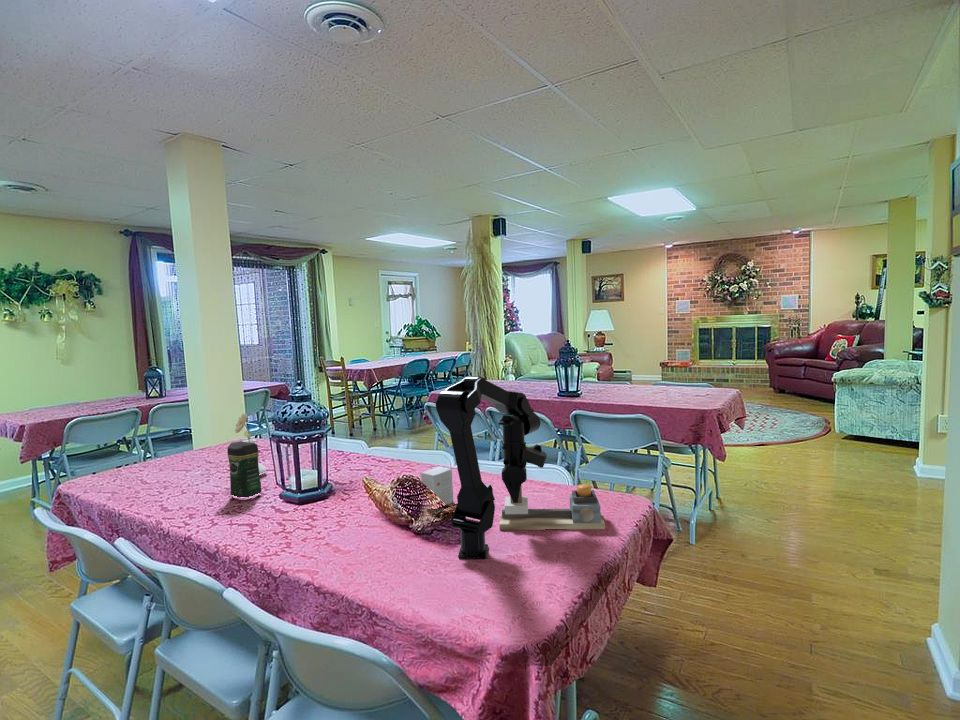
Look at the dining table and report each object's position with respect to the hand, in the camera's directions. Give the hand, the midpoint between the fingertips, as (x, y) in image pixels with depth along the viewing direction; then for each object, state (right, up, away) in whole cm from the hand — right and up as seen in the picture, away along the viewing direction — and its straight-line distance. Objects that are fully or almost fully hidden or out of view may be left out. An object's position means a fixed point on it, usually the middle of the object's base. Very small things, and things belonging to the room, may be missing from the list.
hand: (515, 496), depth 134 cm
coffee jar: (-87, -9, +32) cm, 93 cm away
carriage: (0, -3, 0) cm, 4 cm away
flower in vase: (-96, -8, +55) cm, 111 cm away
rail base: (+9, -7, 0) cm, 12 cm away
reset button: (+18, +1, -2) cm, 18 cm away
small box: (-22, -7, +17) cm, 29 cm away
